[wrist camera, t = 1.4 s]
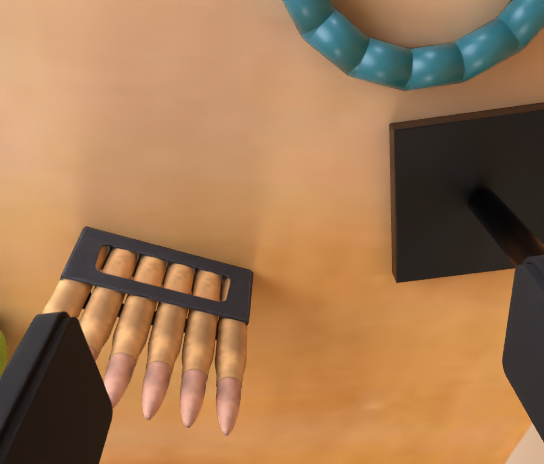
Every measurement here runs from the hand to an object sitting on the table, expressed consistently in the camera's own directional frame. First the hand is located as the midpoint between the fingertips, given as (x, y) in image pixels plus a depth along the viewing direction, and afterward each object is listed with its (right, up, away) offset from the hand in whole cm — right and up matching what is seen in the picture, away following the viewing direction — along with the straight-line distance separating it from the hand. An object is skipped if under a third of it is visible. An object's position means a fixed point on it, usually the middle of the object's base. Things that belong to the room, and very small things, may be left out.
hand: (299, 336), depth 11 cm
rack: (+11, +5, +19) cm, 23 cm away
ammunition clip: (-7, +1, +21) cm, 23 cm away
